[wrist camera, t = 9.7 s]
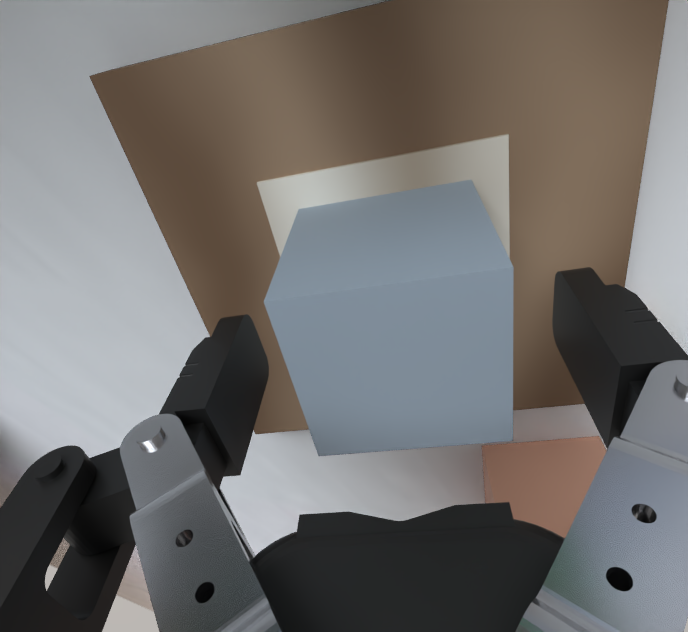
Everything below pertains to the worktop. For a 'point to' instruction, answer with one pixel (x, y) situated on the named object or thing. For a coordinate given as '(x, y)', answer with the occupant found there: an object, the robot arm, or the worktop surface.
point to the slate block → (397, 321)
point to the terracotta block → (542, 478)
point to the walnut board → (400, 148)
